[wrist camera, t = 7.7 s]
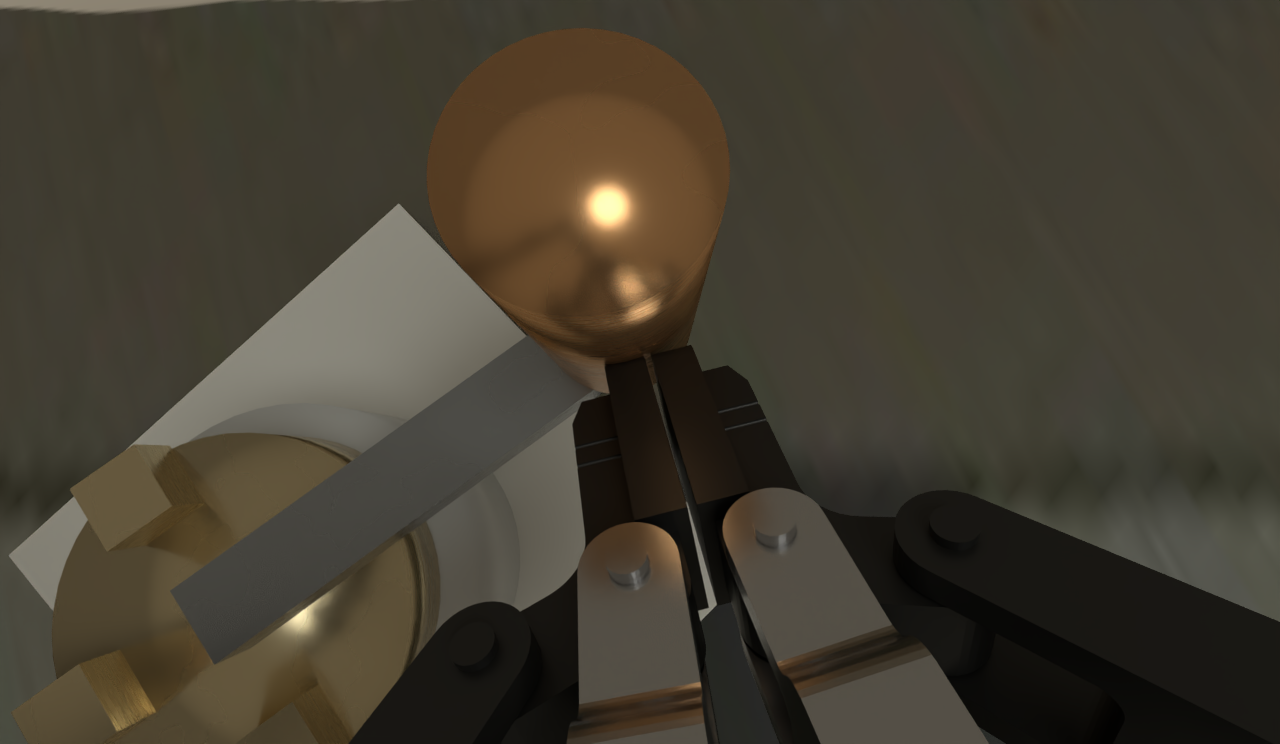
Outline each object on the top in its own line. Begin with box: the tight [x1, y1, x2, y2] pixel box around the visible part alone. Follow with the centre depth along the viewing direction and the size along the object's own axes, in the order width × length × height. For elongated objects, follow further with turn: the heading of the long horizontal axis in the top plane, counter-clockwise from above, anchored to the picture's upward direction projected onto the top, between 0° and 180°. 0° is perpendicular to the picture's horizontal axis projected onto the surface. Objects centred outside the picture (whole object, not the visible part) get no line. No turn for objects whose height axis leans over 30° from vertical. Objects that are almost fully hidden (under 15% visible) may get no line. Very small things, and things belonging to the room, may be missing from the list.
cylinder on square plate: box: [9, 204, 717, 632], centre depth 23 cm, size 20×20×8 cm
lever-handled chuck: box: [11, 28, 730, 744], centre depth 13 cm, size 18×9×12 cm, turn 126°
